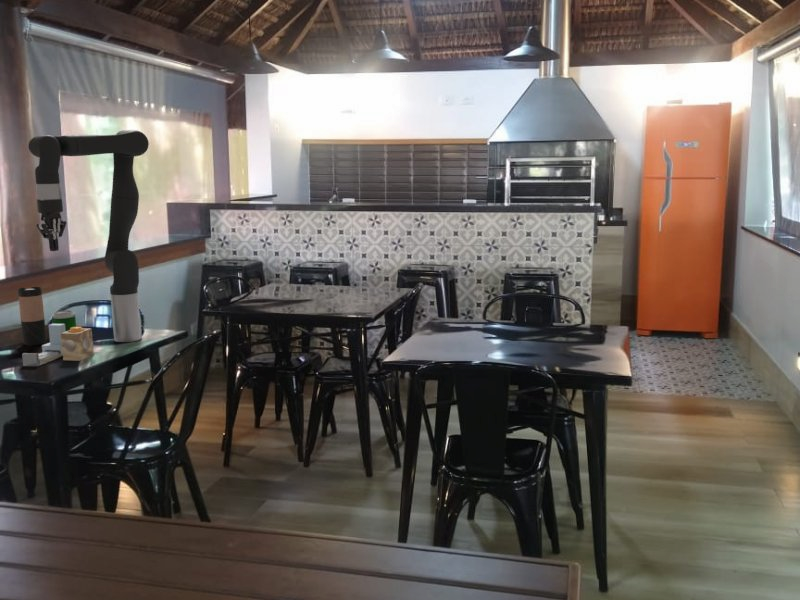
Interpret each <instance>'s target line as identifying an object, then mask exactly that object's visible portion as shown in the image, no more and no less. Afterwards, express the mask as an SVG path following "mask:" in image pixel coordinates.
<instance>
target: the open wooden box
mask: <svg viewBox="0 0 800 600" xmlns="http://www.w3.org/2000/svg"><path fill="white" fill-rule="evenodd" d="M93 340H94V339H93V330H92V328H89V327H88V328H86V327H85V328H84V327H82V331H81V332H79V333H78V332H70V330H69V331H66V332H63V333H61V341H62V352H63V356H62V360H63V361H76V362H77V361H78V362H81V361H83V360H85V359H87V357H88V358H90V357H92V356H94V355H95V353H94V352H95V350H94V341H93ZM89 356H90V357H89Z"/></svg>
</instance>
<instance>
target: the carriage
mask: <svg viewBox="0 0 800 600" xmlns="http://www.w3.org/2000/svg"><path fill="white" fill-rule="evenodd" d="M63 332H66V330H65V324H53V323H51V324H48V335H49V342H47V343H44V344H41V350H42V351H41V353H42V352H44V351H47V350H60V353H61V355H63V352H62V341H61V333H63Z"/></svg>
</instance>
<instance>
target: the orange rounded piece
mask: <svg viewBox="0 0 800 600" xmlns="http://www.w3.org/2000/svg"><path fill="white" fill-rule="evenodd" d="M82 328H83V326H76V327H72V328H70V332H78V333H79V332H81V331H82Z"/></svg>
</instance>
